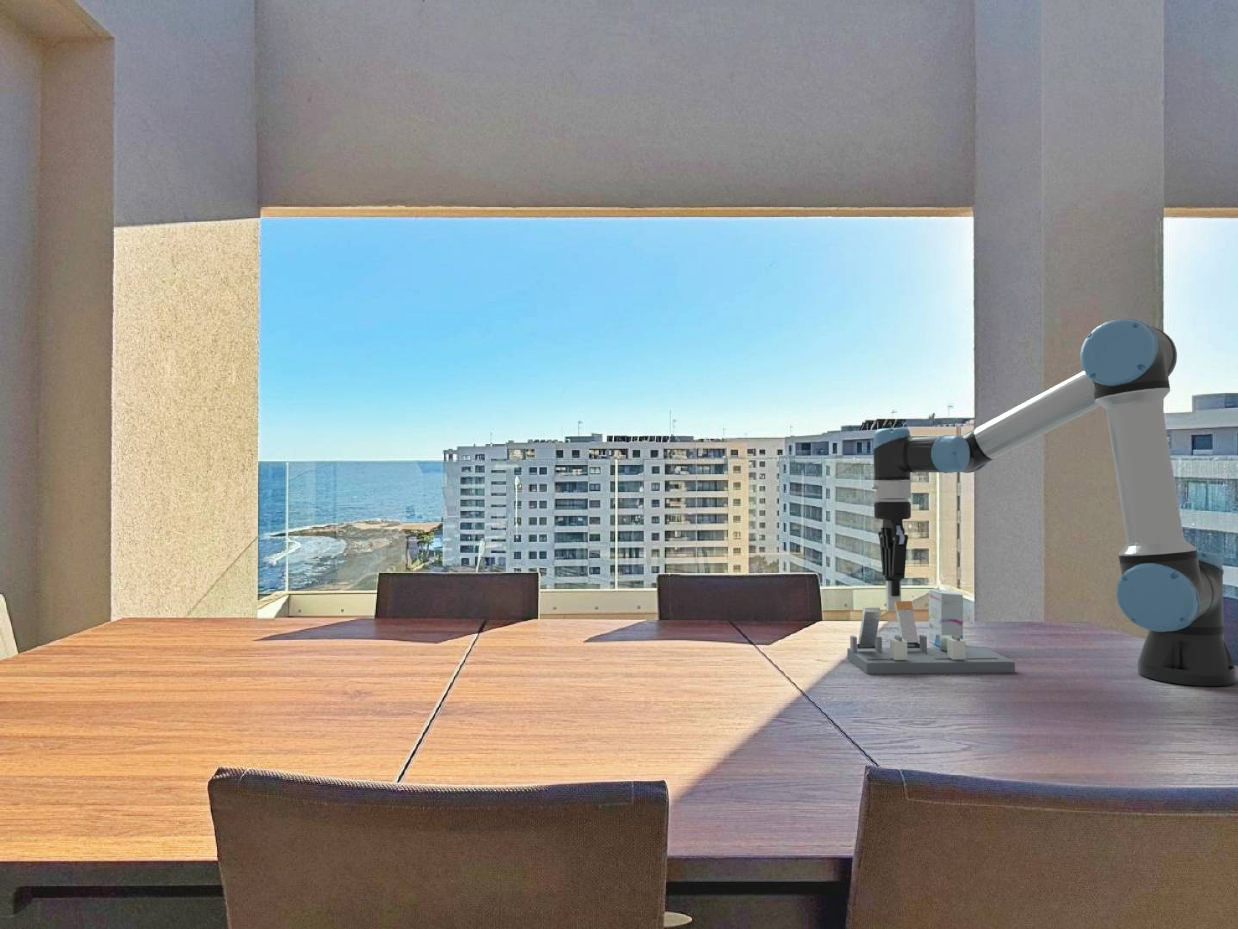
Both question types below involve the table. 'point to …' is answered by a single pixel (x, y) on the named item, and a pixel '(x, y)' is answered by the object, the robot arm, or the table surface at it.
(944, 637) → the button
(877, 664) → the panel
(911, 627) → the toggle
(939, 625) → the ink box
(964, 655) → the slider
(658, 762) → the table surface
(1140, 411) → the robot arm
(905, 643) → the slider
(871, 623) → the toggle
